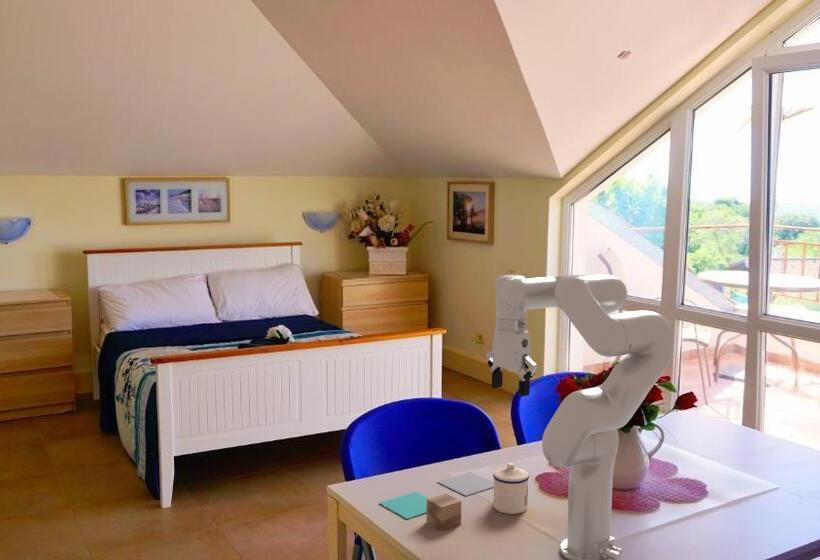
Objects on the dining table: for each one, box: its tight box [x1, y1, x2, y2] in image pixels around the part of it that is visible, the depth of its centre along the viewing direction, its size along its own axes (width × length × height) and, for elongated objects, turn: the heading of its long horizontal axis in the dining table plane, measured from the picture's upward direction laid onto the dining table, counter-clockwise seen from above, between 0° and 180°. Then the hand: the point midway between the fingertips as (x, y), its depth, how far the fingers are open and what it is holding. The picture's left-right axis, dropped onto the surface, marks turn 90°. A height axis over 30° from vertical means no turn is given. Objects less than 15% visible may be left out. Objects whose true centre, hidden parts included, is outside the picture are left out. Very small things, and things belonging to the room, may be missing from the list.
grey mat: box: [437, 471, 494, 497], centre depth 229 cm, size 12×12×1 cm
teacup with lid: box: [492, 462, 530, 515], centre depth 214 cm, size 12×9×12 cm
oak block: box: [426, 493, 462, 532], centre depth 204 cm, size 6×6×6 cm
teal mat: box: [378, 491, 430, 520], centre depth 215 cm, size 12×12×1 cm
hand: (510, 391), depth 211 cm, fingers open, 9 cm apart
